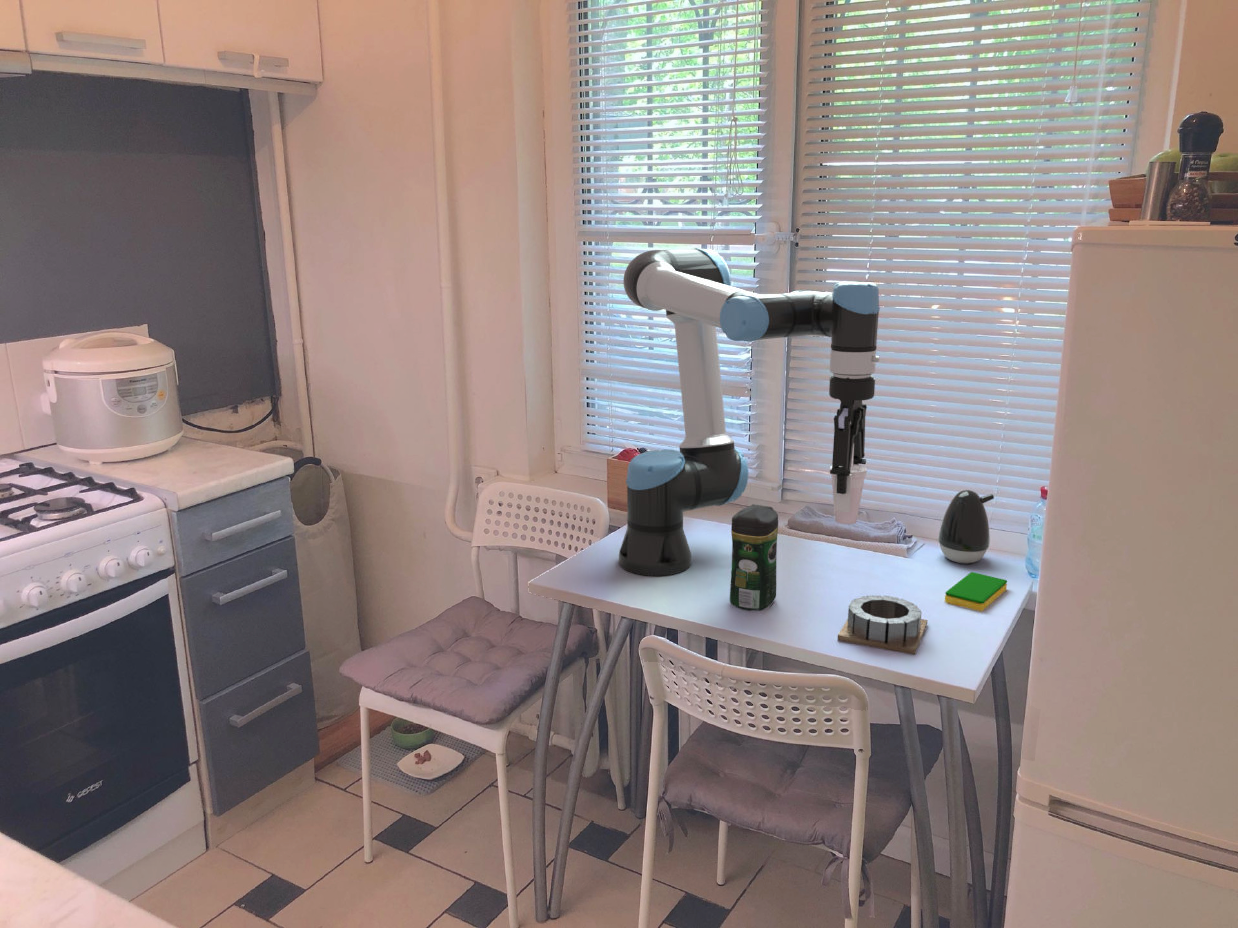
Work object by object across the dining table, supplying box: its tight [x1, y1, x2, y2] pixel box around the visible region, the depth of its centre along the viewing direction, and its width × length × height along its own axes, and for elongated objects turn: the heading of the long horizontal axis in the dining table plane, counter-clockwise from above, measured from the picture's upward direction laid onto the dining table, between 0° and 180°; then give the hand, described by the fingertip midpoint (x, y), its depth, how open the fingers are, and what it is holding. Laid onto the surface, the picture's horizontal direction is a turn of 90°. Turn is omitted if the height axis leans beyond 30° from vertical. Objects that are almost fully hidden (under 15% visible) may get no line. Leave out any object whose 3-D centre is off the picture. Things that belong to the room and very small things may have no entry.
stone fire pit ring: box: [837, 594, 929, 656], centre depth 169 cm, size 13×13×4 cm
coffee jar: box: [729, 504, 779, 612], centre depth 180 cm, size 10×8×19 cm
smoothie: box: [829, 443, 868, 525], centre depth 168 cm, size 6×6×14 cm
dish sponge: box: [944, 571, 1008, 612], centre depth 185 cm, size 7×14×2 cm, turn 140°
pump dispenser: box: [937, 489, 995, 564], centre depth 202 cm, size 10×10×15 cm
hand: (846, 504), depth 169 cm, fingers closed on smoothie, 6 cm apart
